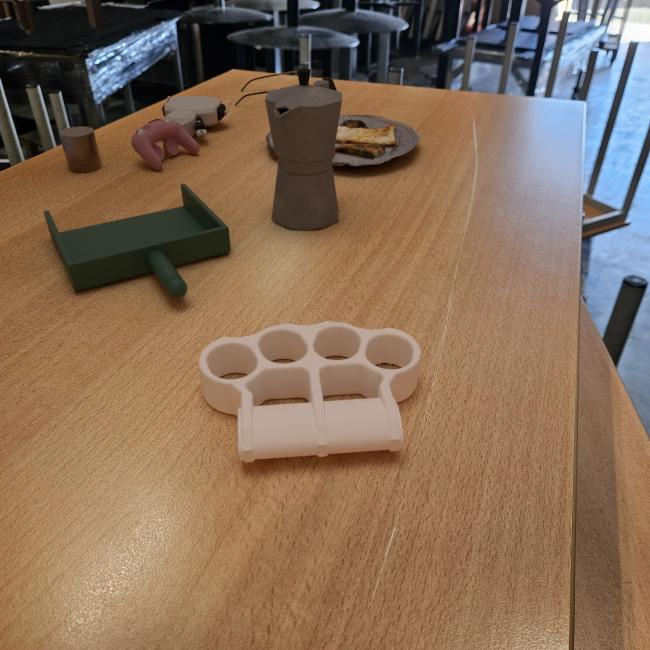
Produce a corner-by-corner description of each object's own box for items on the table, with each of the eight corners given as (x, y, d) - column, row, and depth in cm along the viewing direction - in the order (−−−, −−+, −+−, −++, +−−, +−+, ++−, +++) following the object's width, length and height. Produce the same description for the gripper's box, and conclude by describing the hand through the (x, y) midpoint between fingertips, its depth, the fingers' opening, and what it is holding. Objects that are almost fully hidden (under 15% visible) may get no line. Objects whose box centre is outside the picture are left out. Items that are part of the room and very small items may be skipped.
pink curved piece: (186, 159, 95) (166, 117, 93) (204, 151, 92) (184, 108, 90) (143, 178, 88) (120, 134, 86) (160, 170, 86) (137, 124, 83)
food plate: (244, 163, 90) (242, 140, 88) (297, 121, 108) (296, 102, 106) (399, 184, 84) (401, 160, 82) (428, 136, 101) (431, 116, 99)
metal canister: (72, 175, 85) (62, 138, 82) (65, 165, 88) (56, 129, 85) (105, 169, 87) (96, 133, 84) (97, 159, 90) (89, 124, 87)
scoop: (51, 237, 69) (43, 211, 67) (188, 208, 76) (184, 183, 74) (94, 335, 53) (85, 304, 51) (261, 287, 60) (259, 257, 58)
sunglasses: (308, 108, 115) (305, 82, 112) (235, 113, 116) (230, 87, 113) (308, 90, 127) (306, 66, 124) (242, 95, 127) (238, 71, 124)
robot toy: (209, 152, 96) (235, 119, 108) (206, 125, 93) (232, 94, 105) (141, 147, 98) (173, 115, 109) (135, 120, 95) (169, 91, 106)
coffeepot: (318, 244, 68) (318, 85, 58) (249, 229, 71) (237, 76, 61) (362, 196, 80) (369, 56, 69) (301, 185, 83) (299, 50, 72)
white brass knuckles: (195, 476, 40) (207, 348, 52) (444, 457, 42) (401, 336, 54) (188, 443, 38) (203, 317, 50) (451, 424, 40) (405, 307, 52)
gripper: (77, -122, 72) (104, 22, 82) (-48, -128, 64) (-2, 32, 74) (102, -124, 67) (127, 29, 77) (-30, -130, 60) (17, 40, 69)
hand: (64, 30), depth 75 cm, fingers open, 8 cm apart
